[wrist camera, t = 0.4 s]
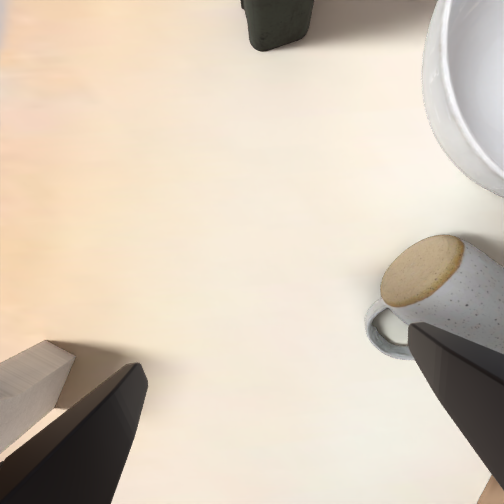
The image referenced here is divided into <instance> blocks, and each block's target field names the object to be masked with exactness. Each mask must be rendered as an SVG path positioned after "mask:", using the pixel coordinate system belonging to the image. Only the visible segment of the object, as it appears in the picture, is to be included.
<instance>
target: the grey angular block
mask: <svg viewBox="0 0 504 504" xmlns="http://www.w3.org/2000/svg"><path fill="white" fill-rule="evenodd" d="M75 358H76V356H75V355H73V354H71V353H69V352H67V351H65V350H63V349H61V348H59V347H57V346H56V345H54V344H52V343H50V342H48V341H46V340H44V341H42V342H40V343H38V344H36V345H34V346H32V347H30V348H29V349H27V350H25V351H23V352H21V353H19V354H17V355H15V356H13V357H11V358H9V359H7V360H5V361H3V362H1V363H0V454H1V453H2V452H3V451H4V450H5V449H6V448H8V447H9V446H10V445H11V444H12V443H14V442H15V441H16V440H17V439H18V438H19V437H21V436H22V435H23V434H24V433H25V432H27V431H28V430H29V429H30V428H31V427H32V426H34V425H35V424H36V423H37V422H38V421H39V420H41V419H42V418H43V417H44V416H45V415H47V414H48V413H49V412H50V411H51V410H52V409H54V407H55V405H56V402H57V400H58V398H59V395H60V393H61V391H62V388H63V386H64V384H65V381H66V379H67V376H68V374H69V372H70V369H71V367H72V365H73V362H74V360H75Z"/></svg>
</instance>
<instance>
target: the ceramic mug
mask: <svg viewBox="0 0 504 504" xmlns="http://www.w3.org/2000/svg"><path fill="white" fill-rule="evenodd" d="M380 290H381V297H382V298H381V299H379V300H377V301H376V302H374V303H373V305H372V306H371V307H370V308H369V309H368V311H367V313H366V316H365V330H366V334H367V337H368V338H369V340H370V342H371V343H372V344H373V345H374V346H375V347H376V348H377V349H378V350H379V351H381V352H382V353H384V354H385V355H388V356H390V357H393V358H396V359H402V360H415V359H414V358H413V356H412V354H411V352H410V350H409V347H408V346H399V345H393V344H391V343H389V342H387V341H386V340H385V339H384V338H383V337H382V336H381V335H380V334H379V333H378V331H377V329H376V327H374V326H373V325H371V324H372V321H373V319H374V318H375V317H376V316H377V315H378V314H379V313H380V312H382V311H383V310H384V309H386V308H390V309H391V311H392V312H393V313H394V314H395V315H396V316H397V317H398V318H400V319H401V320H402V321H403V322H404V323H406V324H407V325H408V326H409V324H410V323H414V322H426V323H429V324H431V325H434V326H436V327H438V328H441V329H443V330H446V331H448V332H451V333H453V334H456V335H458V336H461V337H463V338H465V339H468V340H470V341H473V342H475V343H478V344H480V345H483V346H485V347H488V348H490V349H492V350H495V351H497V352H500V353H502V354H504V267H502V266H501V265H499V264H498V263H496V262H495V261H494V260H492V259H491V258H490V257H488V256H487V255H486V254H485V253H483V252H482V251H481V250H479V249H478V248H476V247H475V246H473V245H472V244H470V243H468V242H466V241H464V240H462V239H460V238H458V237H455V236H451V235H437V236H432V237H428V238H426V239H423V240H421V241H419V242H418V243H416V244H414V245H412V246H411V247H409V248H408V249H407V250H405V251H404V252H403V253H402V254H401V255H400V256H398V257H397V258H396V260H395V261H394V262H393V263H392V264H391V265H390V267H389V268H388V269H387V271H386V272H385V274H384V276H383V278H382V282H381V289H380Z"/></svg>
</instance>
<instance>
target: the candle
mask: <svg viewBox="0 0 504 504" xmlns="http://www.w3.org/2000/svg"><path fill="white" fill-rule="evenodd" d="M313 3H314V0H241V7H242V9H244V10H245V14H246V18H247V23H248V31H249V40H250V43H251V45H252V46H253V47H254V48H255V49H256V50H258V51H267V50H270V49H273V48H276V47H279V46H282V45H285V44H288V43H291V42H294V41H297V40H299V39H301V38H303V37H304V36H305V34H306V33H307V31H308V29H309V24H310V18H311V13H312V8H313Z"/></svg>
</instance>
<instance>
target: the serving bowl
mask: <svg viewBox="0 0 504 504" xmlns="http://www.w3.org/2000/svg"><path fill="white" fill-rule="evenodd" d="M422 93H423V100H424V106H425V110H426V114H427V118H428V121H429V124H430V126H431V129H432V131H433V133H434V135H435V138H436V139H437V141H438V143H439V145H440V146H441V148H442V150H443V151H444V152H445V154H446V155H447V156H448V158H449V159H450V160H451V161H452V162H453V163H454V165H455V166H456V167H457V168H458V169H459V170H461V171H462V172H463V173H464V174H465V175H466V176H467V177H469V178H470V179H471V180H473V181H474V182H476V183H477V184H479V185H480V186H482V187H483V188H485V189H487V190H489V191H491V192H493V193H495V194H497V195H499V196H501V197H504V0H438V1H437V4H436V7H435V9H434V12H433V15H432V18H431V21H430V25H429V29H428V32H427V36H426V41H425V46H424V52H423V61H422Z"/></svg>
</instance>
